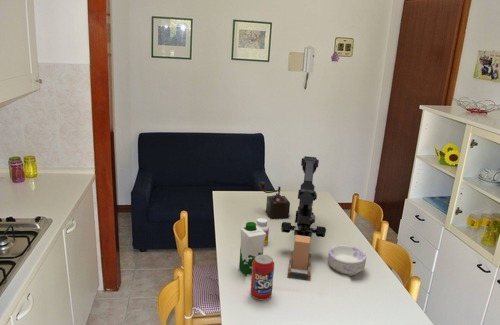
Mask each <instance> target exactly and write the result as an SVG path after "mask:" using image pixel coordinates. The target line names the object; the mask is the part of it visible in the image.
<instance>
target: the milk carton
mask: <svg viewBox="0 0 500 325" xmlns="http://www.w3.org/2000/svg"><path fill="white" fill-rule="evenodd" d="M256 224H257V222H253V221H249V222H248V221H247V222H246V223H245V227H242V228H241V227H240V249H239V262H238V263H239V265H238V269H239V270H240V272H241V273H243V275H244V276H245V277H248V275H252V263H253V260H254V259H255V257H256V256H257V255H264V247H265V246H264V240H265V237H266V233H265V232H264V231H263V230H262V229H260V228H259V227H258V226H256Z"/></svg>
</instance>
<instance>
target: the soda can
mask: <svg viewBox="0 0 500 325" xmlns="http://www.w3.org/2000/svg"><path fill="white" fill-rule="evenodd" d="M274 273H275V261H274V258H273V257H272V256H270V255H268V254H263V255H257V256H256V257H255V259H254V260H253V263H252V274H251V277H250V278H251V279H250V295H251V297H253V298H254V299H256V300H259V301H260V300H262V301H264V300H265V301H266V300H268V299H270V298H271V297H272V295H273V285H274Z"/></svg>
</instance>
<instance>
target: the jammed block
mask: <svg viewBox="0 0 500 325" xmlns="http://www.w3.org/2000/svg"><path fill="white" fill-rule="evenodd" d="M310 243H311V237H309V236H301V235H294V245H293V247H294V248H293V257H292V265H291V269H298V270H307V271H308V257H309V254H310Z"/></svg>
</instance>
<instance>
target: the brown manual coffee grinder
mask: <svg viewBox="0 0 500 325" xmlns="http://www.w3.org/2000/svg"><path fill="white" fill-rule="evenodd" d="M258 186H259V187H260V191H262V192H264V193H265V194H272V193H275V194H274V195H267V196H266V205H265V206H266V208H265V214H266V216H267V217H268V218H269V220H284V219H285V220H286V219H287V220H288V219H289V218H290V208H291V202H290V201H289V199H288V198H287V197H286V195H281V186H277V189H276V190H270V191H266V186H267V182H265V181H260V182H259V183H258Z"/></svg>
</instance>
